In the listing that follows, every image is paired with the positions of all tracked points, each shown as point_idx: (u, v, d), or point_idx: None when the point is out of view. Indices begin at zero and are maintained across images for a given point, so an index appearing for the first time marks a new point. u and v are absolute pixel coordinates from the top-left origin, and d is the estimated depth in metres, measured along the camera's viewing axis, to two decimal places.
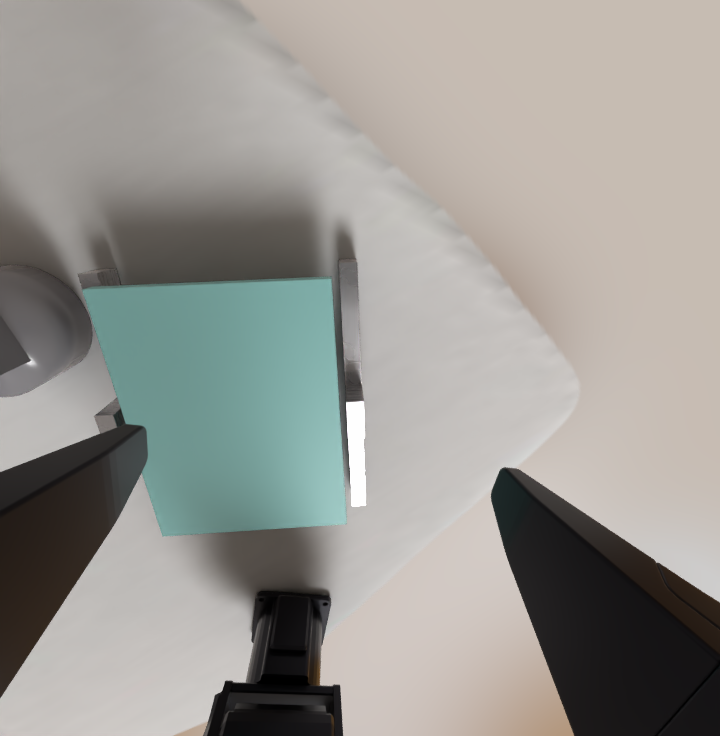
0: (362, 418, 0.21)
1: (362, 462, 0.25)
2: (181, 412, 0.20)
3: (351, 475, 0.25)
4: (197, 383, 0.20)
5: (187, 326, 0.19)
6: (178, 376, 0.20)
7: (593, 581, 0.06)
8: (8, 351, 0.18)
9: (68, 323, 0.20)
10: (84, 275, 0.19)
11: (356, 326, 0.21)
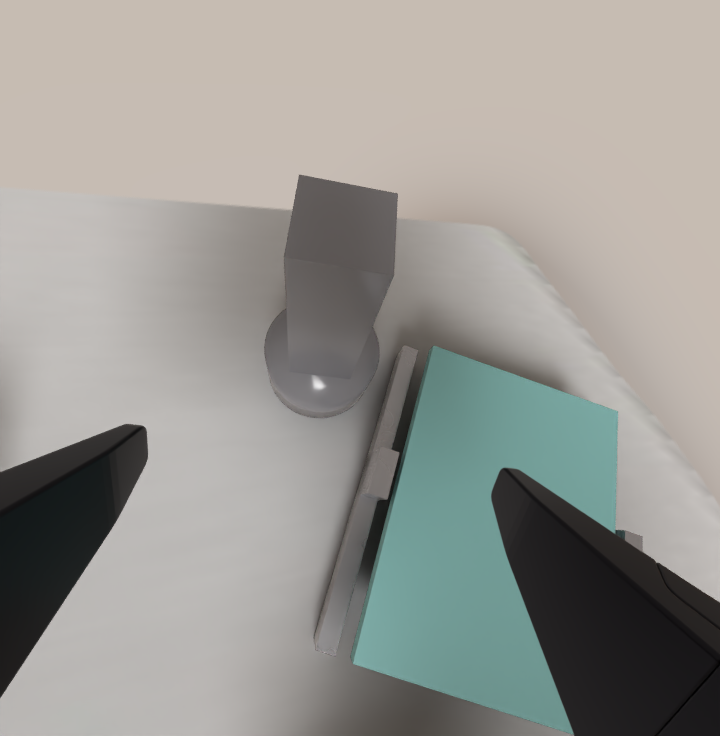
0: None
1: None
2: (461, 478, 0.19)
3: None
4: (488, 454, 0.20)
5: (499, 402, 0.21)
6: (474, 440, 0.20)
7: (593, 581, 0.06)
8: None
9: None
10: (408, 347, 0.24)
11: None
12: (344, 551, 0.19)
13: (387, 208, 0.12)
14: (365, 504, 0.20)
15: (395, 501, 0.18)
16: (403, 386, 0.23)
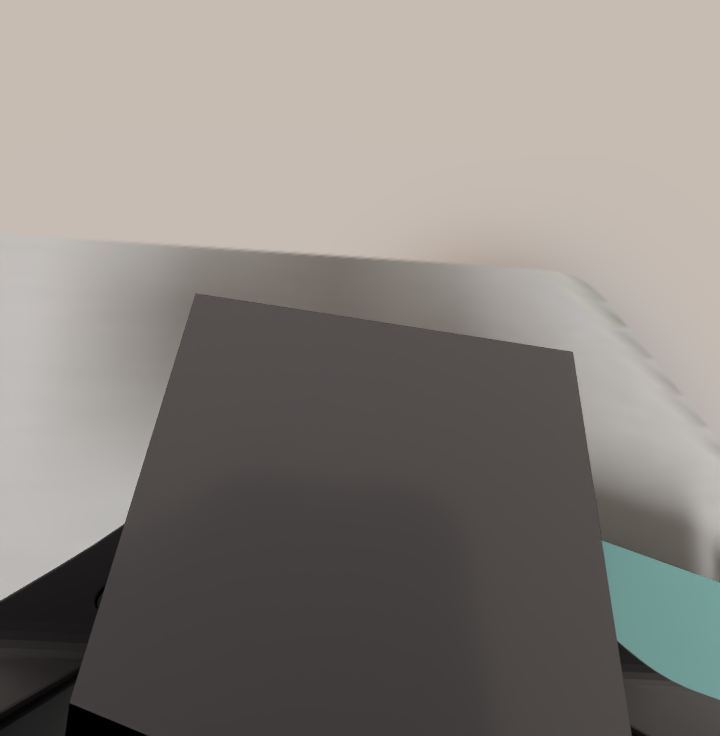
0: None
1: None
2: None
3: None
4: None
5: (634, 621, 0.12)
6: None
7: None
8: None
9: None
10: None
11: None
12: None
13: (551, 428, 0.03)
14: None
15: None
16: None
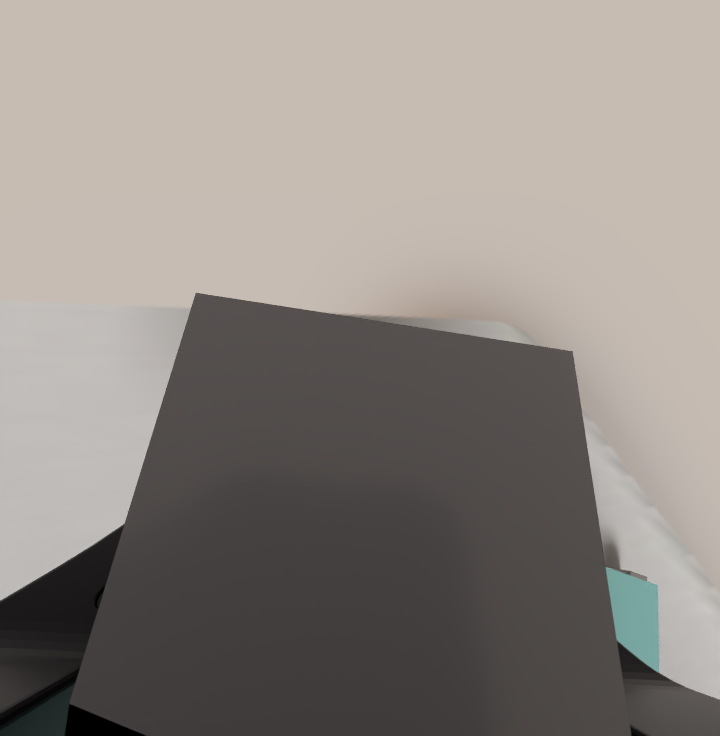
0: None
1: None
2: None
3: None
4: None
5: None
6: None
7: None
8: None
9: None
10: None
11: None
12: None
13: (551, 427, 0.03)
14: None
15: None
16: None
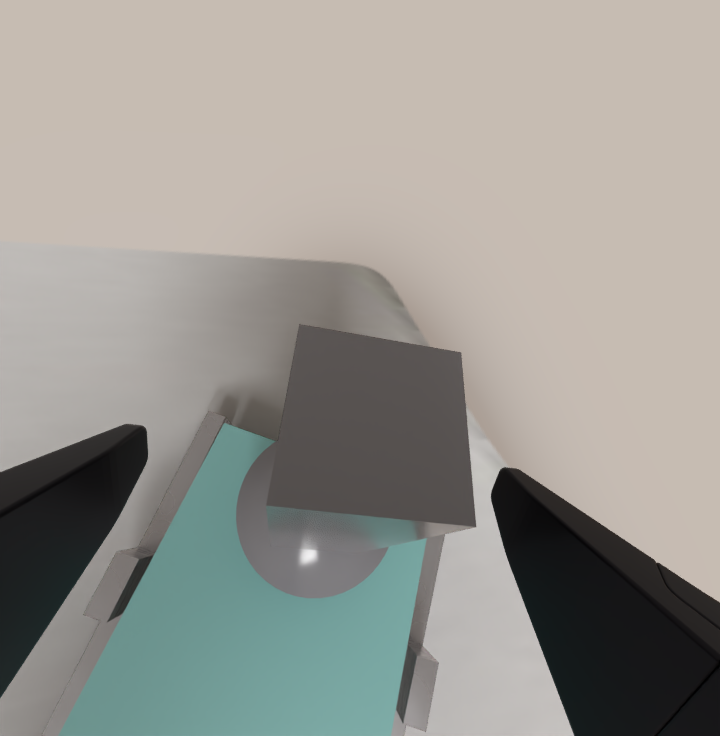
0: (430, 692, 0.16)
1: None
2: (218, 588, 0.16)
3: None
4: None
5: None
6: None
7: (593, 581, 0.06)
8: None
9: None
10: (213, 414, 0.21)
11: (435, 564, 0.20)
12: (72, 678, 0.16)
13: (448, 382, 0.07)
14: None
15: (120, 622, 0.15)
16: (196, 462, 0.20)
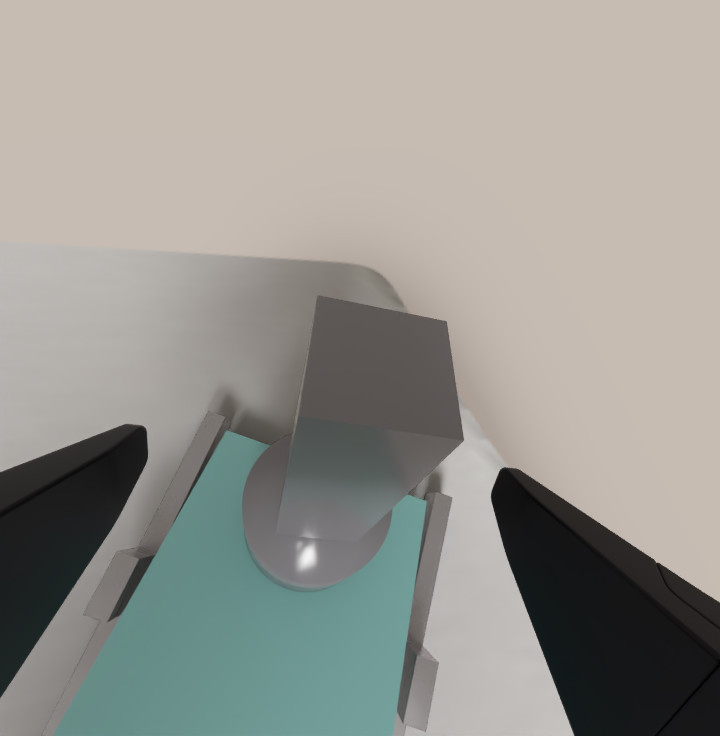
0: (430, 692, 0.16)
1: None
2: (219, 587, 0.16)
3: None
4: None
5: None
6: None
7: (593, 581, 0.06)
8: None
9: None
10: (213, 414, 0.21)
11: (435, 564, 0.20)
12: (72, 678, 0.16)
13: (437, 341, 0.09)
14: None
15: (120, 621, 0.15)
16: (196, 462, 0.20)
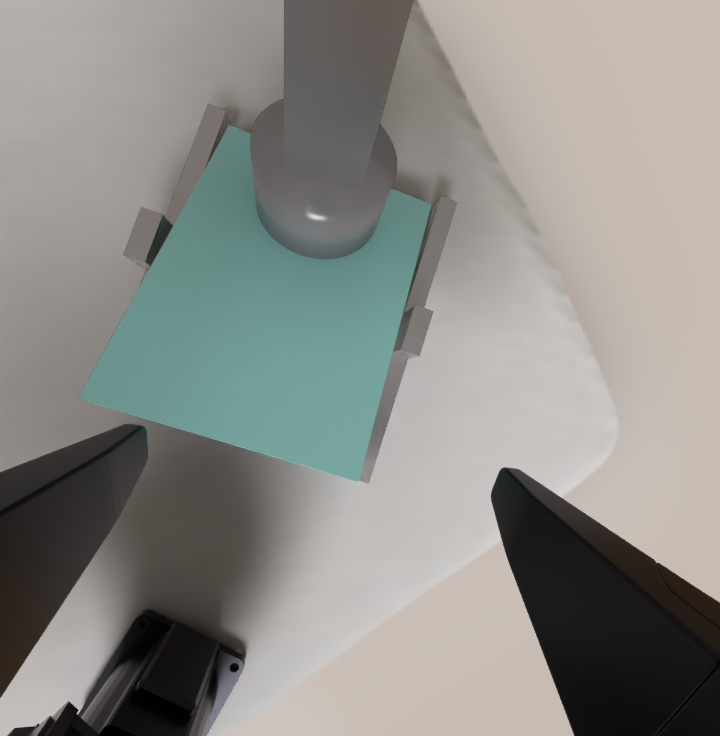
0: (425, 330, 0.19)
1: (387, 417, 0.20)
2: (238, 246, 0.18)
3: None
4: None
5: None
6: None
7: (593, 581, 0.06)
8: None
9: None
10: (213, 107, 0.20)
11: (436, 258, 0.21)
12: None
13: None
14: None
15: (156, 260, 0.17)
16: (203, 154, 0.20)
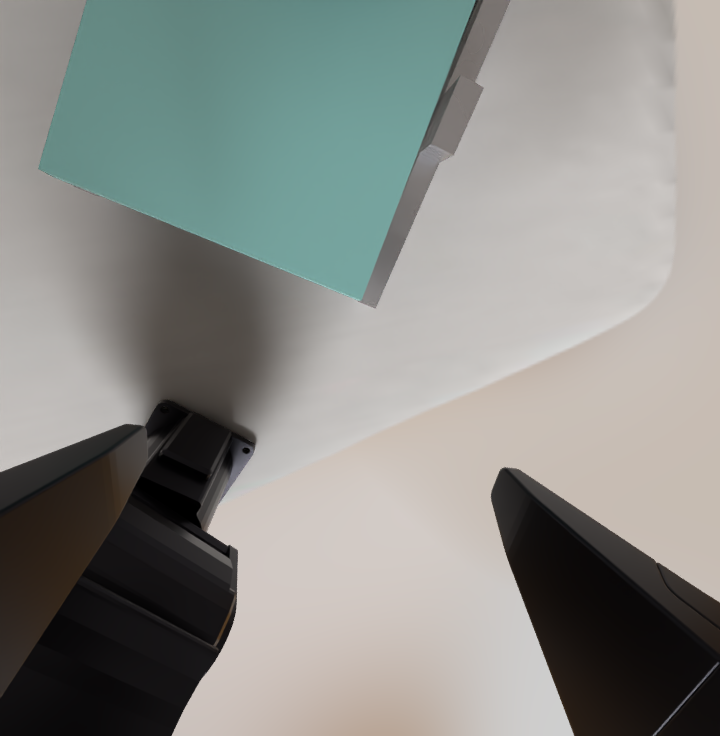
0: (467, 118, 0.14)
1: (403, 236, 0.18)
2: None
3: None
4: None
5: None
6: None
7: (593, 581, 0.06)
8: None
9: None
10: None
11: (505, 0, 0.15)
12: None
13: None
14: None
15: None
16: None
